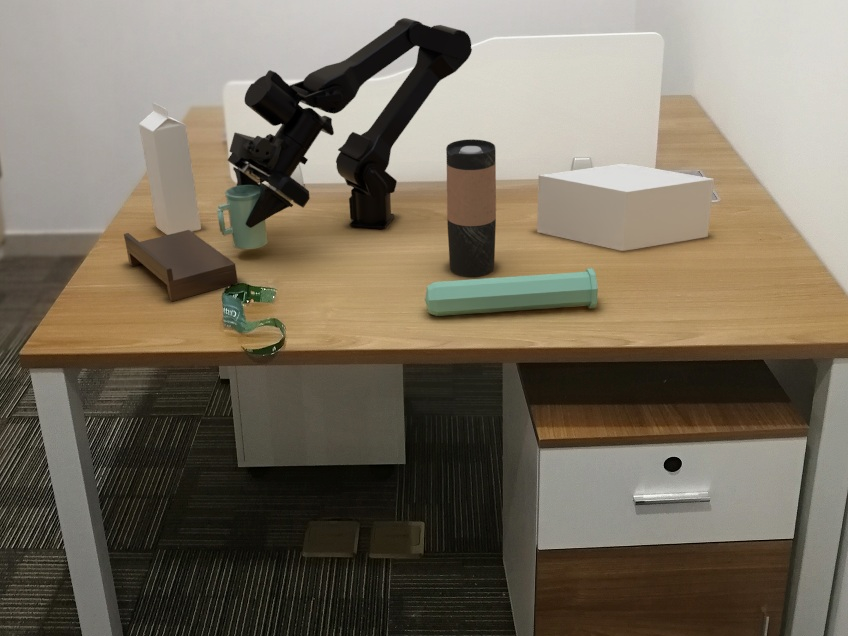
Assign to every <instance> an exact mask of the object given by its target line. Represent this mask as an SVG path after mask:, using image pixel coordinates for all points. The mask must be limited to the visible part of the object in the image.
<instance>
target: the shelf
mask: <svg viewBox="0 0 848 636" xmlns="http://www.w3.org/2000/svg"><path fill="white" fill-rule="evenodd" d="M123 237H124V243H125V248H126V253H127V259H128V264H129V265H130V266H131V267H135V266H140V265H143V266H144V267H146V269H148V270H149V271H150V272H151V273H153V275H155V276H156V277H157V278H158V279H159V280H160V281H162V282H163V283H164V284H165V285H166V288H167V295H168V299H169V300H170V301H171V302H172V303H173V302H175V301H180V300H182V299H187V298H191V297H194V296H197V295H200V294H204V293H208V292H211V291H215V290H219V289H223V288H225V287H229V286H232V285H236V284H238V283H239V281H238V273H237V267H236V263H235V262H234V261H232V259H230V258H229V257H227V256H226V255H224V254H223V253H221V252H220V251H219V250H217V249H216V248H215V247H213V246H212V245H210V244H209V243H208V242H206V241H205V240H204V239H203V238H201V237H200V236H198V235H197V234H195V233H194V231H193V232H191V231H190V230H186V231H182V232H178V233H174V234H170V235H166V234H165V235H162V236H159V237H154V238H150V239H146V240H142V241H139V240H138V239H137V238H135V236H133V235H131V234H130V233H129V232H126V233H124V234H123Z"/></svg>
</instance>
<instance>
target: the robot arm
mask: <svg viewBox="0 0 848 636" xmlns="http://www.w3.org/2000/svg"><path fill="white" fill-rule="evenodd" d="M414 47H418V49H417V50H418V51H417V56H416V57H417V58H416V63H415V65H414V66H413V68H412V69H411V71H410V72H409V74H408V75H407V77H406V78H405V79H404V80H403V82H402V83H401V85H400V86H399V87H398V89H397V90H396V91H395V94H393V96H392V97H391V98H390V100H389V101H388V102H387V104H386V105H385V107H384V108H383V109H382V111H381V112H380V114H379V115H378V116H377V118H376V119H375V121H374V122H373V124H372V125H371V126H370V127H369V129H368V130H367V131H365V132H363V133H361V134H359V133H357V132H355V131H352V132H351V133H350V134H349V135H348V136H347V138H346V140H345V142H344V143H343V145H342V146H341V147H339V148H338V149H337V151H338V152H339V153H338V155H337V156H336V158H335V163H336V170H337V173H338V175H339V176H340V177H342V178H343V179H344V181H345V183H346V185H347V186H349V187H351V188H352V189H351V190H350V194H351V195H350V197H349V198H348V202H349V218H350V220H351V222H349V226H350V227H354V228H366V229H367V228H368V229H379V230H385V229H386V228H387V227H388V225H389V224H390V223H391V222H392V221H393V219H394V218H395V213H392V203H391V200H392V199H391V194H393V193H395V190H396V187H397V183H398V181H397V179H396V178H394V177H393V176H392V175H391V174H389V173H388V172H387V168H388V167H389V164H390V158H391V152H392V148H393V147H394V145H395V143H396V142H397V141H398V139H399V137H400V136H401V135H402V133H403V132H404V131H405V130H406V128H407V127H408V125H409V124H410V123H411V121H412V119H413V118H414V117H415V115H416V114H417V113H418V112H419V110H420V108H421V107H422V106H423V104H425V101H426V100H427V99H428V98H429V96H430V94H431V93H432V92H433V91H434V89H435V88H436V86H437V85H438V84H439V83H440V82H441V81H442V80H444V79H445V78H447V77H449V76H451V75H453V74H454V73H456V72H457V71H458V70H459V69H460V68H461V67H462V66H463V65H464V63H466V62H467V61H468V59H469V58H470V56H471V54H472V52H473V49H472V40H471V37H470V35H469V34H468V33H467V32H466V31H464V30H461V29H457V28H454V27H450V26H446V25H443V24H437V25H433V26H429V25H426V24H423V23H422V22H420V21H419V20H415V19H411V18H408V17H403V18H400V19H398V20H397V21H396V22H394V25H393V26H391V27H390V28H388V29H386V31H384V32H383V33H381V34H380V35H379V36H377V37H376V38H374V39H373V40H371V41H370V42H369V43H367V44H366V45H364V46H363V47H362V48H360V49H359V50H357V51H356V52H354V53H353V54H352V55H350V56H349V57H348V58H345V59H344V60H342V61H340V62H336V63H332V64H329V65H328V64H327V65H325V66H322V67H321V68H318V69H316V70H313V71H312V72H310V73H309V74H307V75H306V76H305V77H304V79H303V80H300V81H298V82H295V83H293V84H290V85H289V84H288V83H287V82H286V81H285V80H284V79H283V78H282V76H281V75H280V74H278V73H277V72H276V71H273V70H271V69H270V70H267V72H266V74H265V75H262V76H260V77H259V78H258V79H256V80H255V81H254V82H253V83H250V85H249V87H248V88H247V90H246V92H245V95H244V104H245V105H246V107H248V108H249V109H251V110H252V111H253V112H255V113H256V114H257V115H258V116H260V117H261V118H262V119H263V120H265V122H267V123H269V124H270V125H271V126H273V127H277V126H279V125H280V127H279V128H278V130H277V132H275V135H273V134H272V133H269V134H267V135H266V136H264V137H261V136H260V135H256V136H255V137H254V136H250V135H247V134H243V133H239V132H234V134H233V136H232V140H231V144H230V147H229V153H230V155H229V157H228V159H227V162H229V163H230V164H231V165H233V168H232V170H233V171H234V173H235V177H236V186H239V185H255V186H259V187H260V197H259V198H258V200H257V202H256V204H255V206H254V208H253V210H252V211H251V213H250V215H249V217H248V219H247V221H246V226H248V227H249V228H252V227H254V226H255V225H257V224H259V223H260V222H262V221H264V220H265V221H266V220H267V219H268V218H270V217H273V216H275V215H276V214H278V213H279V212H282V211H283V210H284V211H285V209H287V208H293V207H294V204H295V205H297V206H298V207H301V208H302V209H304V208H305V206H306V205H307V204H308V202H309V200H310V197H311V196H310V191H309V190H308V189H307V188H306V187H304V186H303V185H301V183H299V182H298V181H297V180H295V179H294V178H292V175H293V174H294V173H295V171H296V169H297V168H298V166H299V165H300V164H302V165H306V164H307V162H308V161H309V159H308V158H306V154H307V153H308V152H309V150H310V148H311V147H312V145H313V143H314V142H315V141H316V140H317V138H318V137H319V135H320V133H321V132H323V133H325V134H327V135H330V136H333V135H334V134H335V132H334V126H333V123H332V122H333V119H332V117H330V116H328V115H322V116H321V114H320V113H318V112H317V111H316V110H314V109H315V108H316V109H318V110H320V111H323V112H325V113H328V114H333V115H334V114H338V113H340V112H342V111H343V110H344V109H345V108H346V107H347V106H348V105H349V104H350V103H351V102H352V101H353V100H354V99H355V98H356V96H357V94H358V92H359V90H360V89H361V87H362V86H363V85H364V84H365V83H366V82H368V81H369V80H370V79H371V78H374V76H376V75H377V74H378V73H380V72H381V71H382V70H384V69H386V68H387V67H389V66H390V65H391V64H392V63H394V62H395V61H396V60H398V59H399V58H401V57H402V56H403V55H405V54H407V52H409V51H410V50H412V49H413V48H414ZM300 104H304V105H307V106H309V107H304V108H303V107H302V106H301V105H300ZM264 182H266V183H267V184H268V185H266V184H265V183H264ZM292 202H293V203H294V204H293V203H292Z"/></svg>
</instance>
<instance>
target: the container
mask: <svg viewBox="0 0 848 636" xmlns="http://www.w3.org/2000/svg"><path fill="white" fill-rule="evenodd" d="M598 294H599V287H598V280H597V273H596V272H595V270H594V268H593V267H589V268H586V270H585V271H577V272H562V273H561V272H560V273H547V274H531V275H519V276H518V275H517V276H504V277H503V276H502V277H489V278H488V277H487V278H486V277H485V278H474V279H461V280H460V279H458V280H444V281H434V282H432V283H430V284H428V285H427V286H426V291H425V296H424V302H425V305H426V308H427V311H428V314H430V315H433V316H436V317H444V316H458V315H472V314H474V315H475V314H487V313H503V312H516V311H530V310H545V309H546V310H547V309H557V308H573V307H587V308H588V309H595V308H596V306H597V305H598Z"/></svg>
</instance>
